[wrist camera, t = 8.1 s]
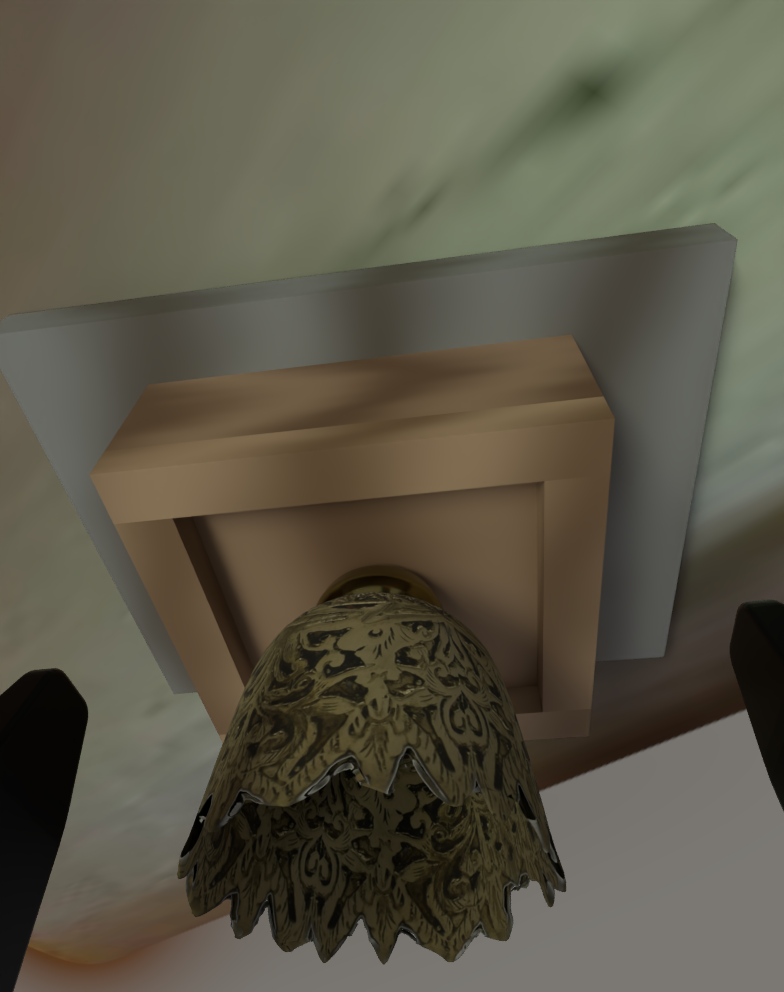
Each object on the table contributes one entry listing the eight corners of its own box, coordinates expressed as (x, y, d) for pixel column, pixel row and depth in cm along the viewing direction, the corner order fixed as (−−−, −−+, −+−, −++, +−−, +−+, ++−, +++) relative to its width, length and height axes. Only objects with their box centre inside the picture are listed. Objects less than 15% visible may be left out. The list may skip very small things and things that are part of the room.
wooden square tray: (714, 223, 18) (832, 306, 13) (652, 627, 27) (706, 762, 22) (8, 315, 19) (-121, 419, 15) (183, 665, 29) (140, 797, 24)
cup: (425, 706, 22) (435, 991, 16) (216, 634, 20) (131, 929, 14) (561, 563, 18) (648, 867, 12) (318, 456, 16) (265, 754, 10)
